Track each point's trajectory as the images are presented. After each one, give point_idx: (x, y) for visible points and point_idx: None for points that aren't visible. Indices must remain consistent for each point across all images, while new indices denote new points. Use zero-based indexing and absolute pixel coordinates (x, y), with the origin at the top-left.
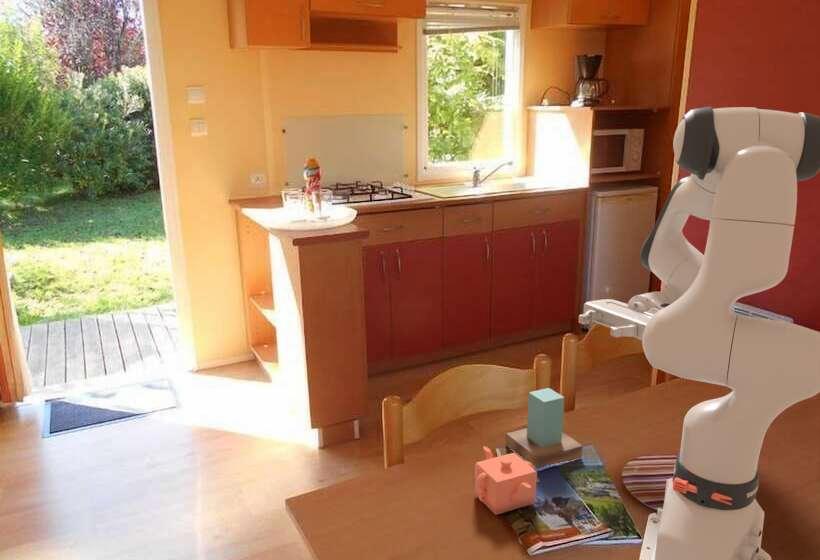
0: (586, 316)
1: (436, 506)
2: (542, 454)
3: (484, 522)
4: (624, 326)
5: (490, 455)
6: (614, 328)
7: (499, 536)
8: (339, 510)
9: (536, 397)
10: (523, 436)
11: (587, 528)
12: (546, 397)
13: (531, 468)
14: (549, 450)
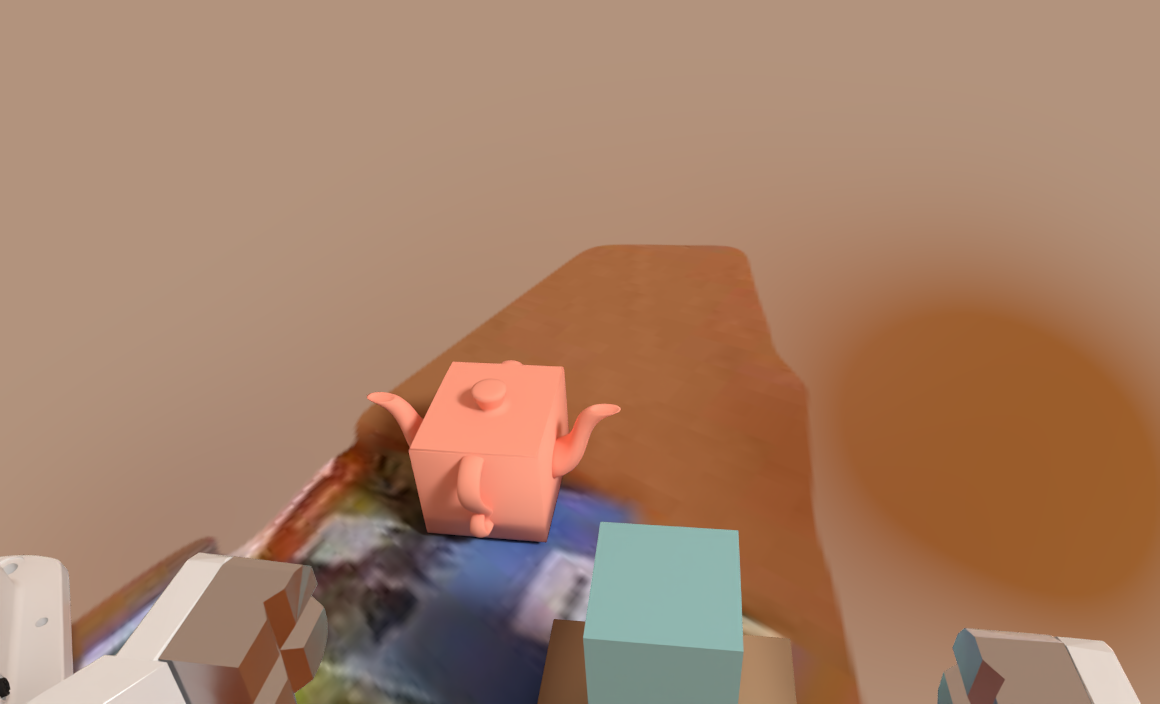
0: (996, 687)
1: (590, 383)
2: (564, 650)
3: None
4: (86, 701)
5: (579, 415)
6: (236, 562)
7: None
8: (684, 280)
9: (667, 526)
10: None
11: None
12: (637, 561)
13: (430, 445)
14: (572, 696)
